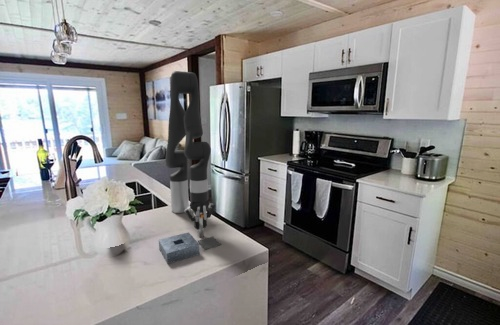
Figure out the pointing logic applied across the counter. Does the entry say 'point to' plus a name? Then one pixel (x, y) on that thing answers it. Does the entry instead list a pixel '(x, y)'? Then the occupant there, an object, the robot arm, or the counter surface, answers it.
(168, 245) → the block
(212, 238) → the mat
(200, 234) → the chuck key
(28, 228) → the counter surface
